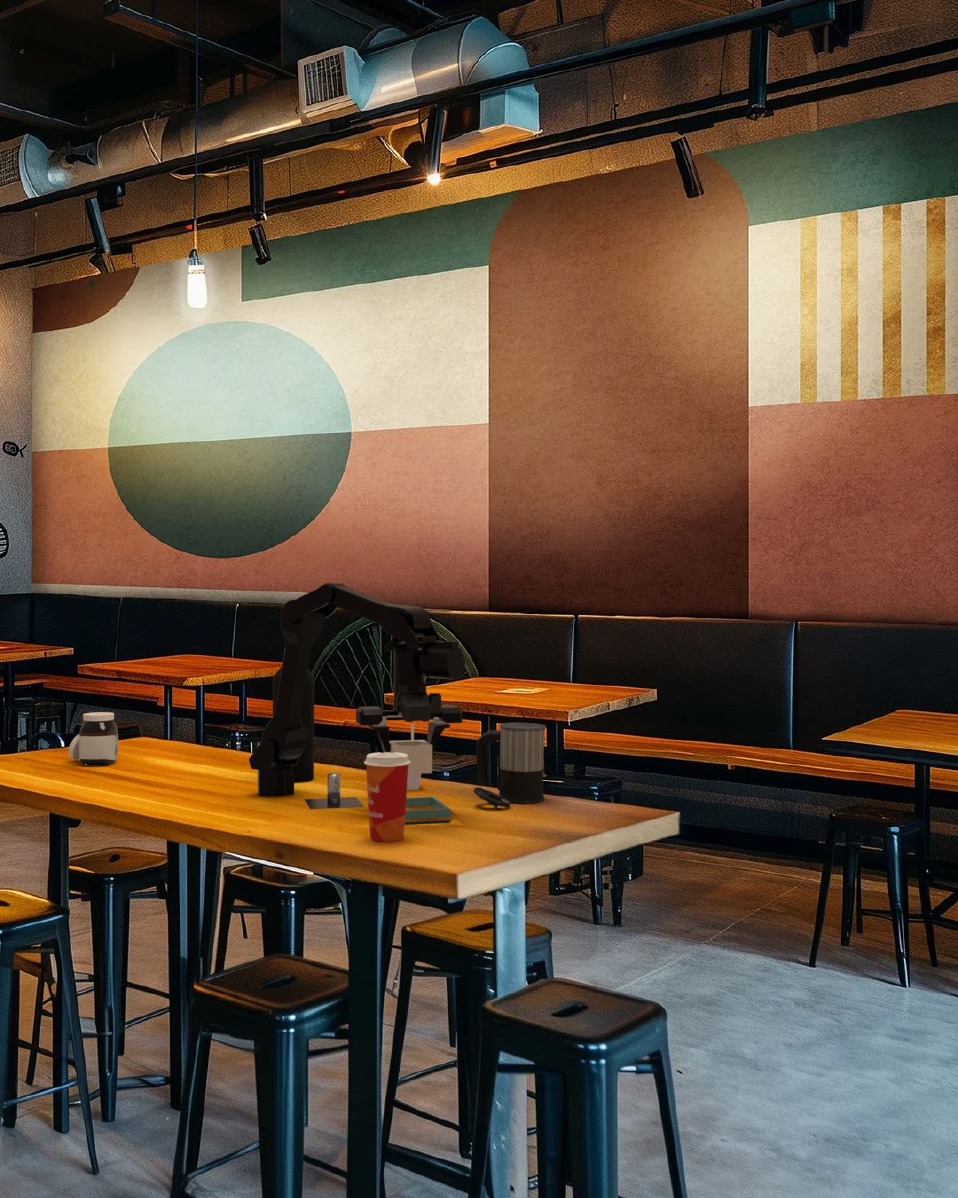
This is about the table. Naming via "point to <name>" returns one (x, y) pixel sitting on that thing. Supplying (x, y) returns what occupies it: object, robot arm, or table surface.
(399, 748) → the collar
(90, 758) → the spread jar
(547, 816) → the table surface
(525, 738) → the milk frother
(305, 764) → the bottle
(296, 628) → the robot arm
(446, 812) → the tray
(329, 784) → the metal post stand
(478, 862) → the table surface
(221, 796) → the table surface
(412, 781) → the smoothie
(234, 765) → the table surface
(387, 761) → the paper cup
